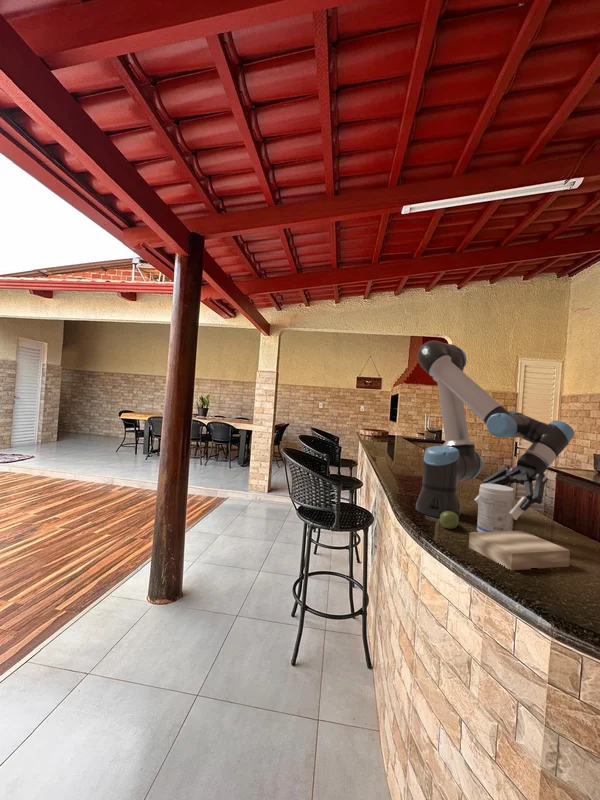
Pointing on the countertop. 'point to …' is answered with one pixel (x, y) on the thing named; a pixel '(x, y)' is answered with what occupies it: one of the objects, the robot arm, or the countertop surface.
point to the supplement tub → (495, 508)
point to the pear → (449, 519)
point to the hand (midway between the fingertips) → (493, 509)
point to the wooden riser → (519, 550)
